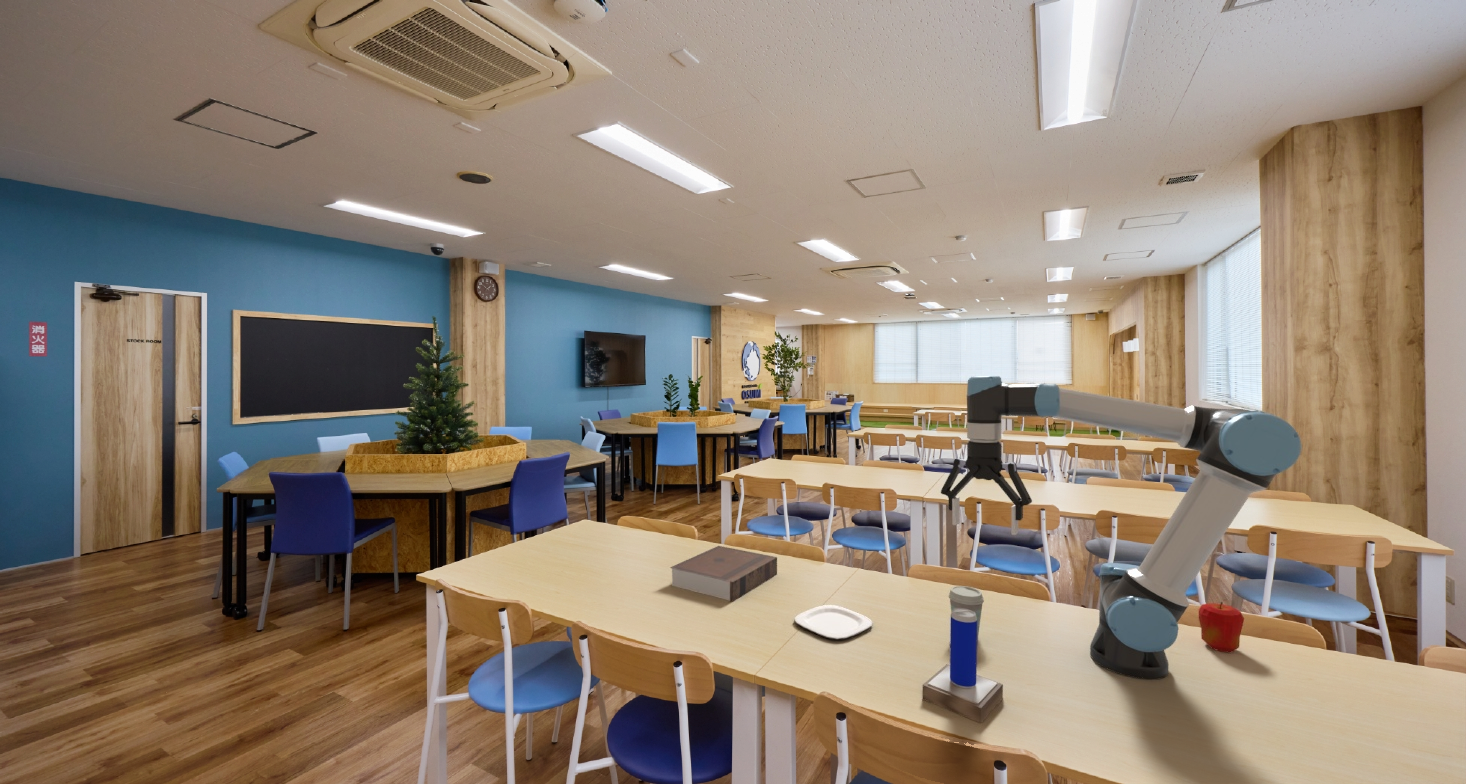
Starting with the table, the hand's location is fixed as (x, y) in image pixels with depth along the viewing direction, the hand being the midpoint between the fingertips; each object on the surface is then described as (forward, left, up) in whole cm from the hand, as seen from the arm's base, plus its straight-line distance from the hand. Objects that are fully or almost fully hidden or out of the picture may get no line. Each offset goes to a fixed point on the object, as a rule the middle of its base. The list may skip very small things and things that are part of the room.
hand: (984, 528), depth 135 cm
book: (+82, +7, -32) cm, 88 cm away
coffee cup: (+8, -8, -32) cm, 33 cm away
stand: (-3, +21, -31) cm, 38 cm away
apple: (-40, -46, -32) cm, 69 cm away
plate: (+37, +10, -32) cm, 49 cm away
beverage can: (-4, +21, -28) cm, 35 cm away
